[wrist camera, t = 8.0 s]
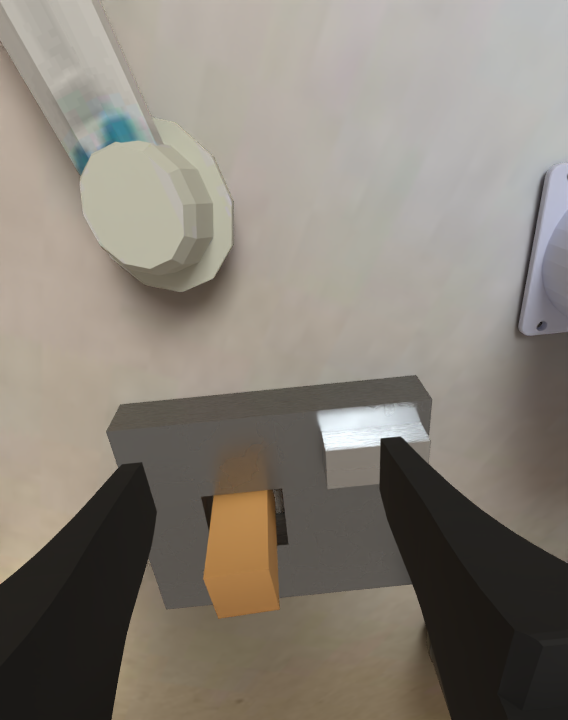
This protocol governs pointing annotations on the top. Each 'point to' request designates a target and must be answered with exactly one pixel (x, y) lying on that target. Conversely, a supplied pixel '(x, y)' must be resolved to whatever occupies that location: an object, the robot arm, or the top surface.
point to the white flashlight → (121, 146)
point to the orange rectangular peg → (242, 554)
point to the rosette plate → (277, 478)
